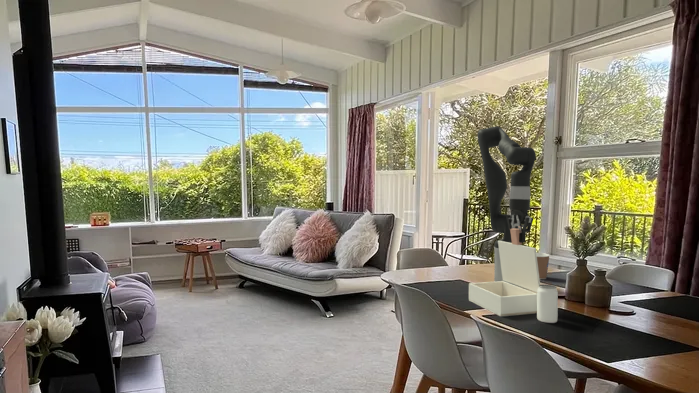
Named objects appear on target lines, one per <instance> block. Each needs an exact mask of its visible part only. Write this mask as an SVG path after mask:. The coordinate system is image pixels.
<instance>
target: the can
mask: <svg viewBox="0 0 699 393" xmlns="http://www.w3.org/2000/svg"><path fill="white" fill-rule="evenodd" d="M536 293H537V313H536V318H537V320H538V322H542V323H546V324H555V323H557V322H558V316H559V314H558V311H559V310H558V304H559V303H558V302H559V298H558V296H559V295H558V294H559V293H558V290H557V286H556V285H552V284H540V285H539V288H538V290H537V292H536Z"/></svg>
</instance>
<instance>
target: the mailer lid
mask: <svg viewBox="0 0 699 393" xmlns="http://www.w3.org/2000/svg"><path fill="white" fill-rule="evenodd" d="M510 232H511V240H512V243H509V242H504V241H498V240H497V241H498V246H499V254H500V263H501V271H502V279H503V280H504V281H507V282H510V283H512V284H514V285H515V286H518V287H521V288H523V289H526V290H529V291H531V292H534V293H537V290H538V288H539V285H541V279H539V271H538V262H537V254H536V253H537V248H536V247H531V246H527V245H522V244H523V243H520V242H519V233H520V232H519V229H517V228H513V229H510Z"/></svg>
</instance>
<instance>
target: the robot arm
mask: <svg viewBox="0 0 699 393" xmlns="http://www.w3.org/2000/svg"><path fill="white" fill-rule="evenodd" d="M477 142H478V146H479V151H480V155H481V159H482V160H481V161H482V163H483V173H484V178H485V186H486V190H487V197H488V204H489V218H490V219H489V220H490V222H489V223H490V228H491V230H492V231H493V233H497V234H504V235H503V238H502V239H498V240H495V242H494V264H493V265H494V268H493V269H494V272H493V274H494V279H493V282H497V281H504V280H503V279H502V271H501V263H500V254H499V246H498V241H504V242H509V243H512V240H511V232H510V229H513V228H517V229H519V232H520V233H519V242H520V243H522V244H523V243H525V242H526V234H527V233H528V232H530V231H531V228H532V224H533V221H534V217H532V216H529V214H528V212H529V211H530V209H531V175H532V172H533V167H534V165H535V162H536V159H537V156H536V155H537V153H536V151H535V149H534V148H532V147H529V146H527V147H526V146H525V147H524V146H523V147H522V146H521V145H520V144H519V143H518V142H516V141H515V140H513V139H511V137H510V136H509V135H508V134H507V133H506V132H505V130H504V129H503V128H501V127H500V126H497V125H496V126H491V127H486V128H481V129H479V130H478V131H477ZM496 147H498V151H499V152H500V154H502V156H504V157H505V159H506V162H507V163H508V164H509V165H513V166H522V168H521V169H520V170H515V171H513V172H511V174H510V189H509V208H508V209H509V210H511V212H510V214H508V213H507V214H505V213H504V214H503V213H502V210H501V204H502V201H503V198H504V197H505V194H506V192H507V189H508V182H507V175H506V173H505V170H503V168H502V167H501V166H500V165H499V164H498V163H497V162H496V161H495V160H494V158H493V157H492V155H491V153H490V149H492V148H496ZM504 282H507V281H504ZM507 283H510V282H507ZM510 284H512V283H510ZM512 285H515V284H512Z"/></svg>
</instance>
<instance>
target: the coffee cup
mask: <svg viewBox="0 0 699 393" xmlns="http://www.w3.org/2000/svg"><path fill="white" fill-rule="evenodd" d="M536 254H537V262H538V271H539V279H540V280H547V275H548V271H549V270H548V269H549V261H550V256H551V254H549V253H545V252H543V253H542V252H536Z"/></svg>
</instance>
